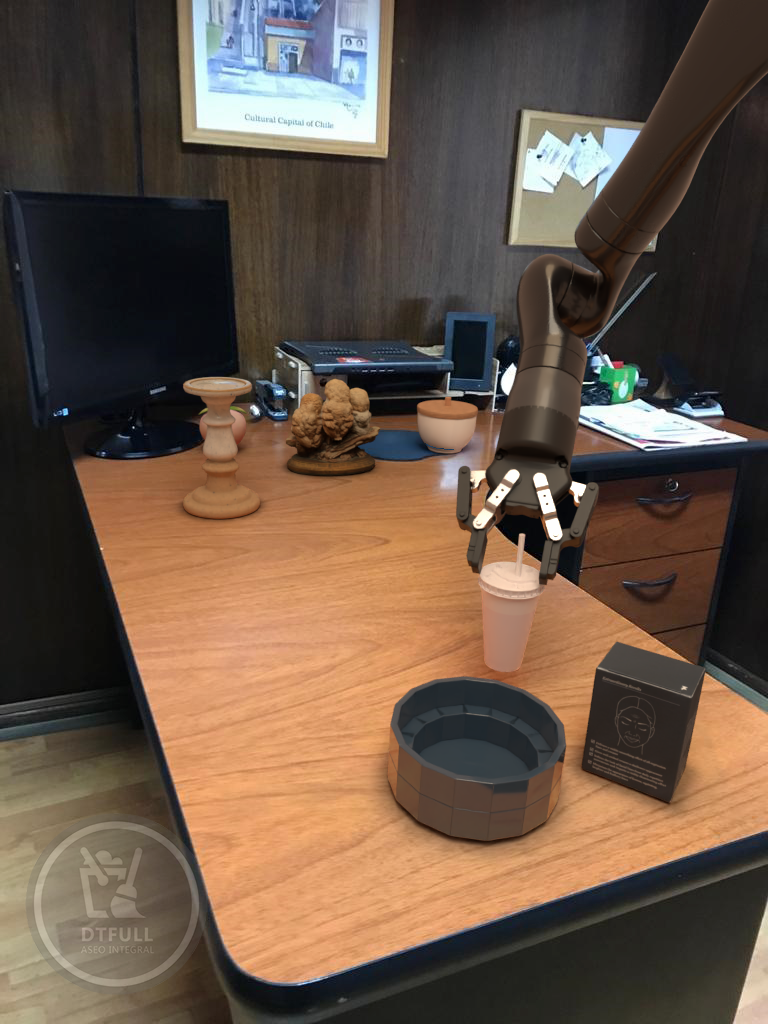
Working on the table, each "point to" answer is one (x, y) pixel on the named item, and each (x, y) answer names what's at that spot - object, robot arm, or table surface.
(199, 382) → the candle holder
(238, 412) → the decorative fruit
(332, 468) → the owl figurine
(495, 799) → the bowl
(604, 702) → the box
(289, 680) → the table surface
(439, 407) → the lidded bowl
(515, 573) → the smoothie
